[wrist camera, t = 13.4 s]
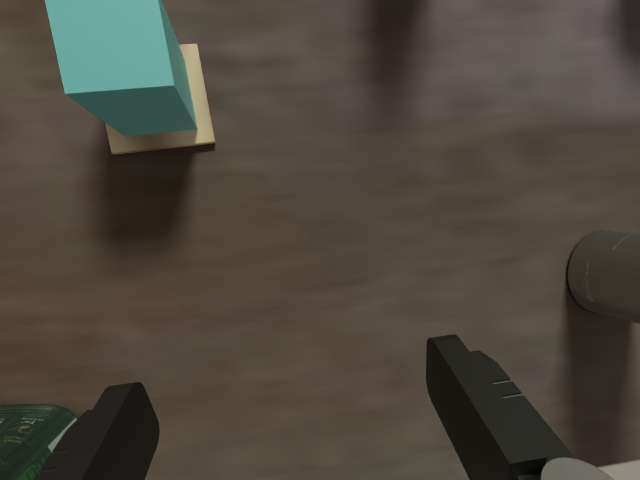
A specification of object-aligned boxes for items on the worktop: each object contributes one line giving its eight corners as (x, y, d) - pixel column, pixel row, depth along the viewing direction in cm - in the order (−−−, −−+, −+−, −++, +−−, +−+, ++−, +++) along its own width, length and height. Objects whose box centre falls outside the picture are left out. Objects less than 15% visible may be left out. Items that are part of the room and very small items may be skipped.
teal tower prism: (184, 60, 28) (154, -17, 19) (197, 129, 28) (174, 85, 19) (110, 65, 26) (41, -15, 18) (125, 136, 27) (65, 93, 18)
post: (197, 47, 28) (179, -16, 21) (215, 143, 29) (203, 114, 21) (93, 53, 27) (33, -13, 19) (114, 154, 27) (64, 128, 20)
